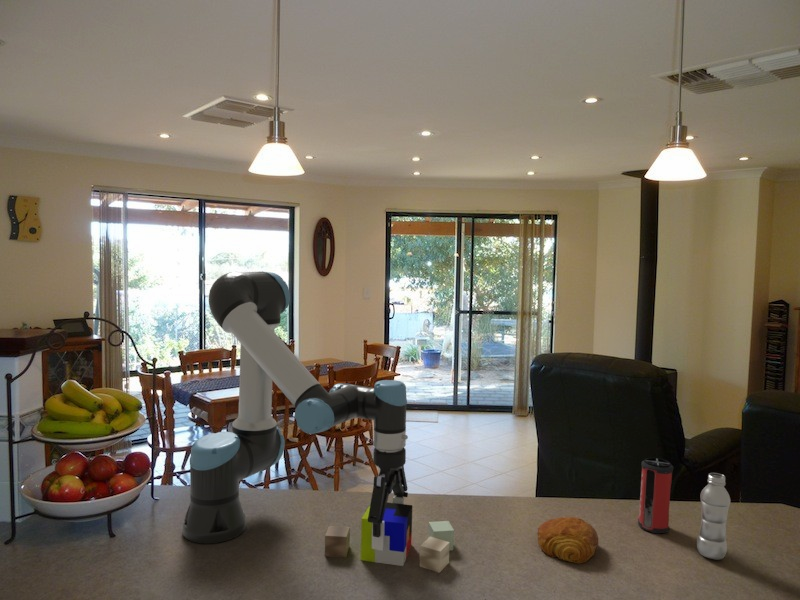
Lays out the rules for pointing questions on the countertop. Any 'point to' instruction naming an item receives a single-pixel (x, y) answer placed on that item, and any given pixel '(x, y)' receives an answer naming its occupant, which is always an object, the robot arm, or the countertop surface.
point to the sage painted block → (442, 532)
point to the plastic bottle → (713, 518)
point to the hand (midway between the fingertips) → (388, 535)
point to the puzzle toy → (389, 535)
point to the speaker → (655, 495)
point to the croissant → (568, 539)
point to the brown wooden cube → (337, 541)
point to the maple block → (434, 554)
